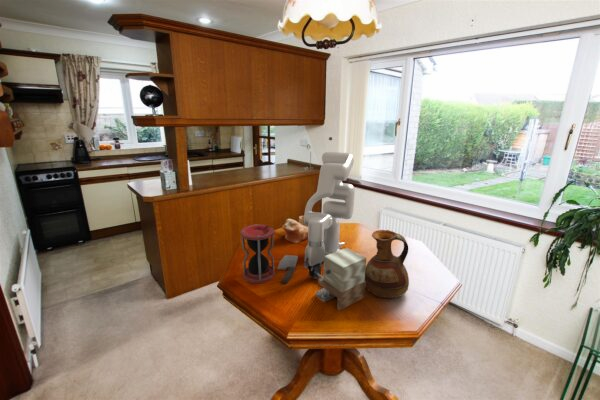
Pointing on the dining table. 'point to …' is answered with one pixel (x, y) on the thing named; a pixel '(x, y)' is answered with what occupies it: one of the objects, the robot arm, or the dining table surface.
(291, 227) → the tan rock
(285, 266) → the cleaver
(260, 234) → the hourglass
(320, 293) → the rectangular block
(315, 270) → the hammer
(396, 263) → the ceramic pitcher
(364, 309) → the dining table surface
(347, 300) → the cabinet
